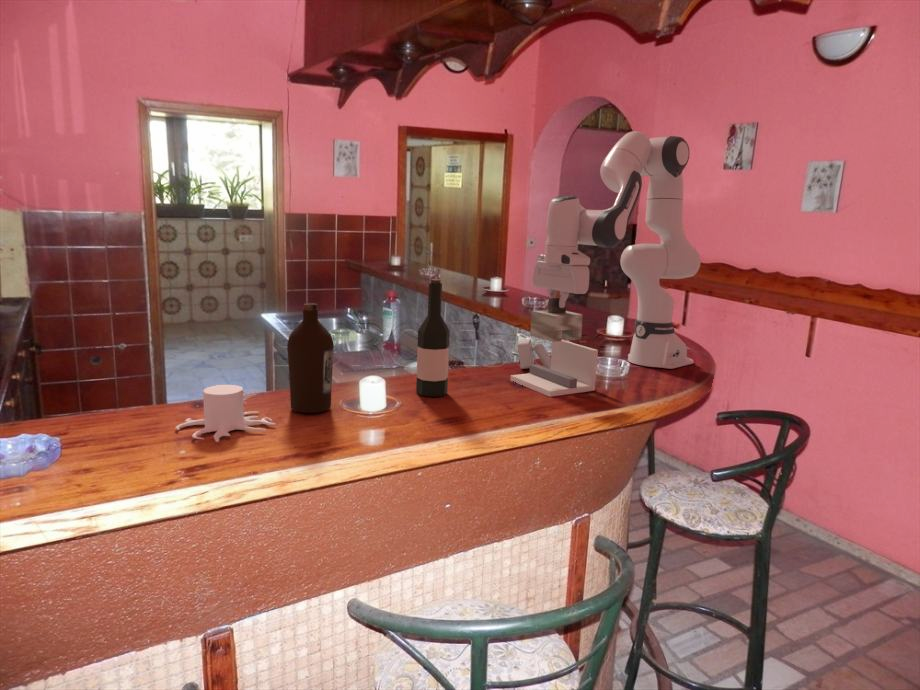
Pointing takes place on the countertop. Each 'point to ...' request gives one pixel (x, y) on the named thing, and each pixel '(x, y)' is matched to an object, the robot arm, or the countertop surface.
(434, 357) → the wine bottle
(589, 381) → the board
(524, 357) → the white block with rod
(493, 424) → the countertop surface
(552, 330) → the cabinet block
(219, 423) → the tree stump
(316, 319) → the olive oil
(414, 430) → the countertop surface
